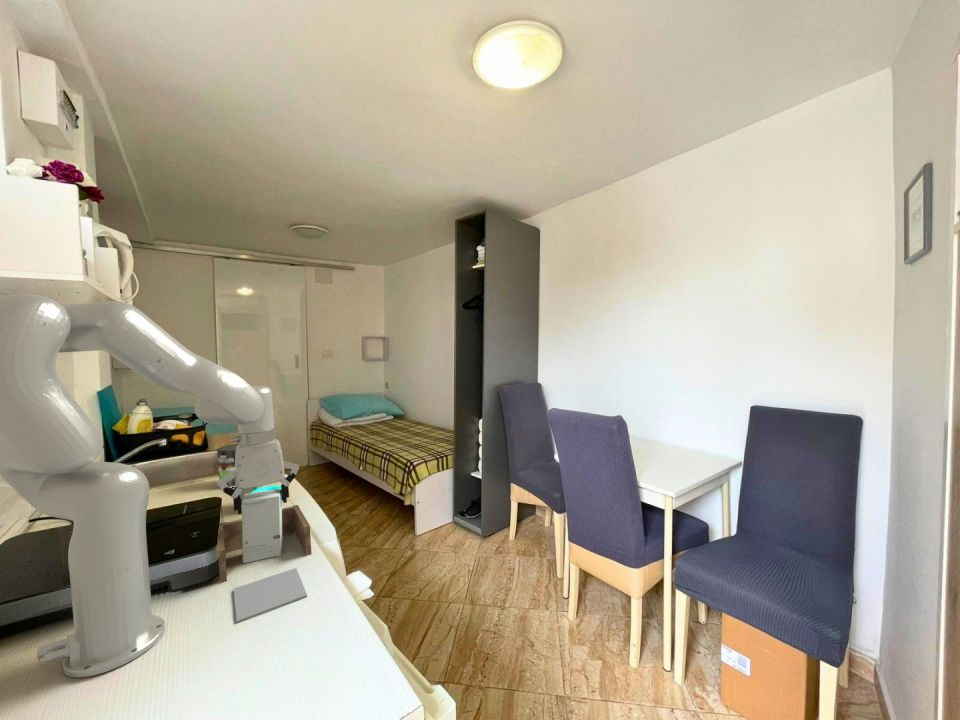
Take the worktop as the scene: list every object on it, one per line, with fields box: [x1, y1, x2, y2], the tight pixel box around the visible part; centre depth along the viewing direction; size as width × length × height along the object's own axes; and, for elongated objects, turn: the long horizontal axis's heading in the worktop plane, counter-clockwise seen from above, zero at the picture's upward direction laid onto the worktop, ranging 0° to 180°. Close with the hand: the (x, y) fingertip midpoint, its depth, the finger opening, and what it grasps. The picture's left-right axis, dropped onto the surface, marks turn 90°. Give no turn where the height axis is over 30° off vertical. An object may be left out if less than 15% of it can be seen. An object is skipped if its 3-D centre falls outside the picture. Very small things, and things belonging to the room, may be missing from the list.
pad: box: [232, 567, 308, 624], centre depth 79 cm, size 12×12×1 cm
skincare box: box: [241, 489, 283, 564], centre depth 95 cm, size 8×6×15 cm
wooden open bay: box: [217, 504, 312, 584], centre depth 95 cm, size 18×16×7 cm
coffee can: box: [216, 443, 240, 487], centre depth 147 cm, size 10×10×14 cm
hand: (262, 506), depth 95 cm, fingers open, 9 cm apart
